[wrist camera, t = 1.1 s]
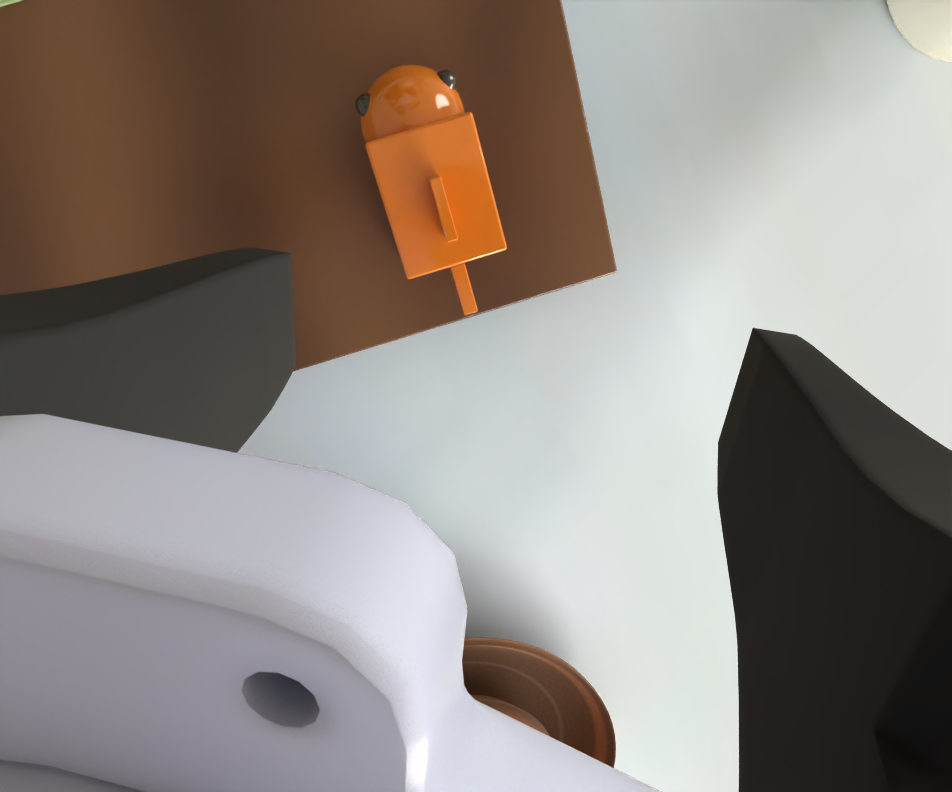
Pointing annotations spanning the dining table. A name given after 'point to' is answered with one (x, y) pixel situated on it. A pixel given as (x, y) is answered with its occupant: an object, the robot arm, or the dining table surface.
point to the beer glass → (925, 25)
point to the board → (284, 149)
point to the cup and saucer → (539, 694)
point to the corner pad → (7, 2)
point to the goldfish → (430, 174)
